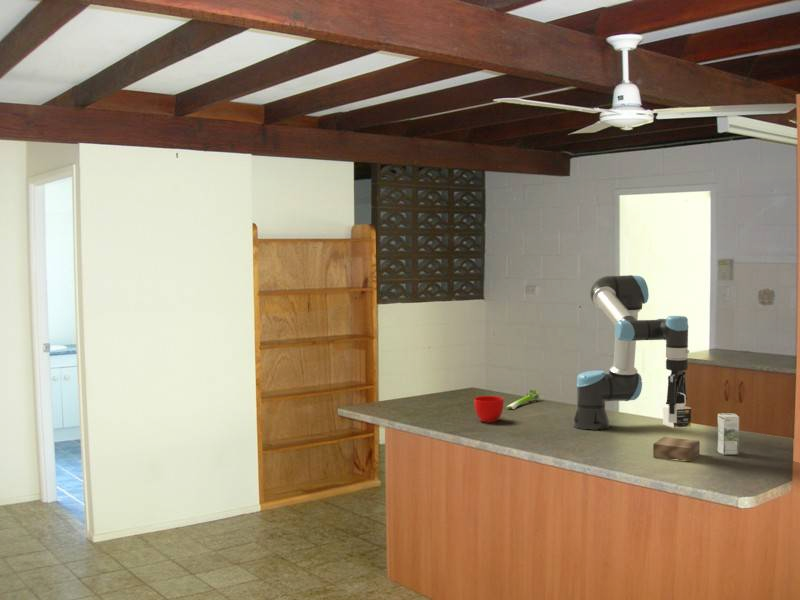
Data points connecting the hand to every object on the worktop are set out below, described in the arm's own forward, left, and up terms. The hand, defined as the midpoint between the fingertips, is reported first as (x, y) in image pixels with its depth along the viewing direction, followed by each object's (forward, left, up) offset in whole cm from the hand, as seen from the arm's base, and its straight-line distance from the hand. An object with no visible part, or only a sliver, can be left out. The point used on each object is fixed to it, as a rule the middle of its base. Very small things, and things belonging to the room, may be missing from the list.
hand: (676, 420), depth 309 cm
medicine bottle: (0, 0, -2) cm, 2 cm away
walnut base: (0, 0, -13) cm, 13 cm away
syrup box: (+15, +13, -13) cm, 24 cm away
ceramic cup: (-89, +24, -13) cm, 93 cm away
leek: (-91, +65, -14) cm, 113 cm away
